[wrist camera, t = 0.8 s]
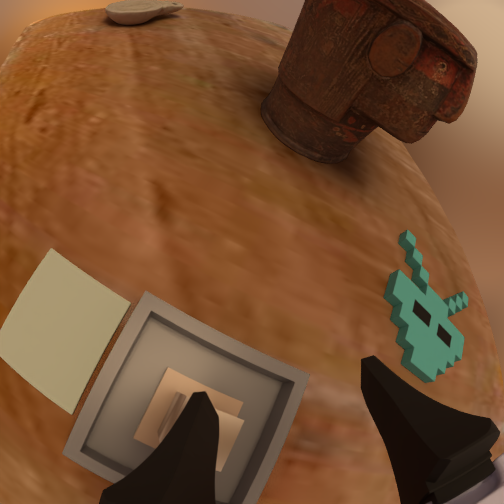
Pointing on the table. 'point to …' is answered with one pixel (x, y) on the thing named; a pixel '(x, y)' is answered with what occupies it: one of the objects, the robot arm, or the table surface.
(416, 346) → the alien figure
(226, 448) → the brown block
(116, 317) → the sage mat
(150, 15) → the oil lamp
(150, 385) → the box
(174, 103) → the table surface
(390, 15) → the clay pot
